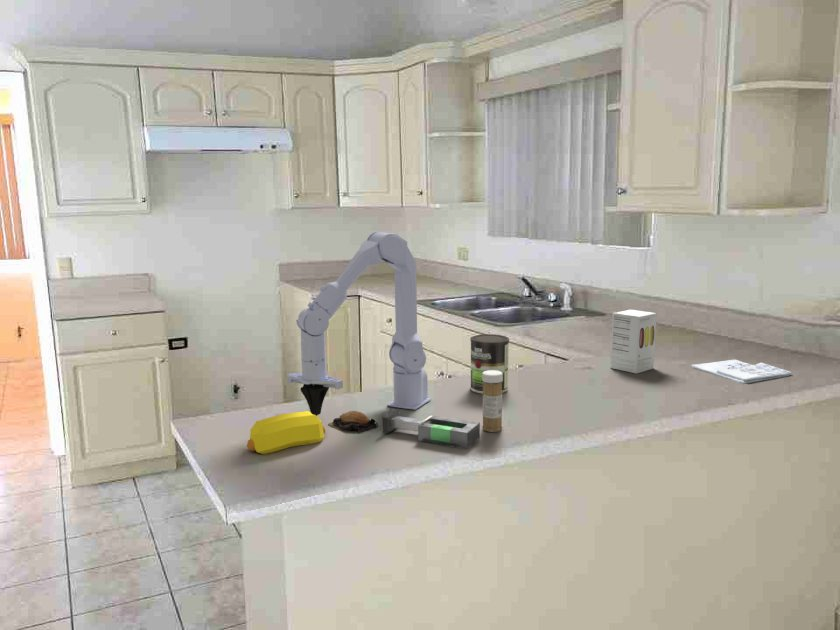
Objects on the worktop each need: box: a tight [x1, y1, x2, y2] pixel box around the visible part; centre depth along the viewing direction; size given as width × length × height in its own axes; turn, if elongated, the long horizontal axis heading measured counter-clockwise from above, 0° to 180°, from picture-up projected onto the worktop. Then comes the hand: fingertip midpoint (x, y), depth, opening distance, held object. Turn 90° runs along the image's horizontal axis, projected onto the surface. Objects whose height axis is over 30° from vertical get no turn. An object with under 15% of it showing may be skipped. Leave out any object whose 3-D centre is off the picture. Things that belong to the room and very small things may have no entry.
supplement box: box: [609, 309, 657, 375], centre depth 215 cm, size 10×9×17 cm
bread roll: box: [327, 410, 380, 434], centre depth 170 cm, size 11×8×4 cm
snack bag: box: [690, 359, 793, 384], centre depth 212 cm, size 19×20×2 cm
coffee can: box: [470, 333, 510, 395], centre depth 196 cm, size 10×10×14 cm
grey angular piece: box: [381, 409, 434, 435], centre depth 164 cm, size 6×10×4 cm, turn 64°
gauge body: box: [417, 415, 481, 450], centre depth 159 cm, size 7×12×4 cm, turn 64°
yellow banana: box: [246, 410, 326, 455], centre depth 158 cm, size 18×7×8 cm
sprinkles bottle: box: [481, 370, 503, 433], centre depth 165 cm, size 5×5×13 cm
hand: (316, 414), depth 175 cm, fingers closed
